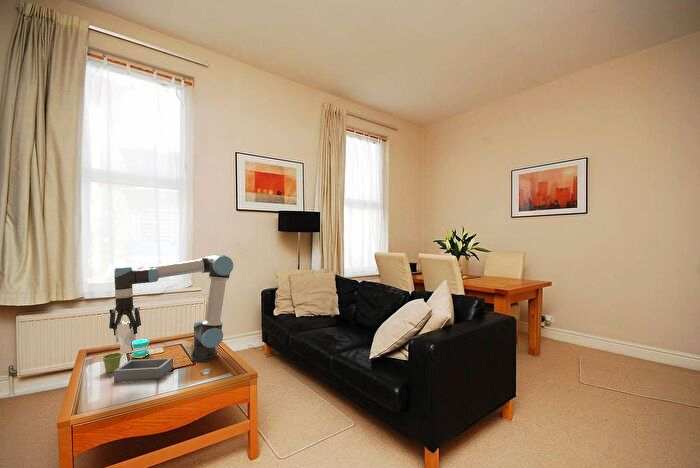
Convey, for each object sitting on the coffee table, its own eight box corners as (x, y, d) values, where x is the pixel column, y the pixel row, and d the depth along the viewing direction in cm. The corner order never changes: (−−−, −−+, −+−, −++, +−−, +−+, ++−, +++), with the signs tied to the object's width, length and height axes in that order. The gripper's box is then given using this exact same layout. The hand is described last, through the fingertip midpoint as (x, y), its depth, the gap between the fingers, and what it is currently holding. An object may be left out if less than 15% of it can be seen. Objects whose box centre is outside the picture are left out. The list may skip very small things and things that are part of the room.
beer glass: (123, 349, 174) (121, 321, 173) (137, 348, 174) (135, 320, 174) (115, 354, 167) (113, 325, 166) (130, 353, 167) (127, 323, 167)
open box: (173, 368, 190) (172, 357, 190) (160, 379, 175) (160, 368, 175) (130, 370, 188) (130, 360, 188) (113, 382, 173) (113, 370, 173)
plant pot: (126, 368, 191) (126, 353, 191) (109, 375, 182) (109, 359, 182) (114, 366, 194) (114, 352, 194) (98, 373, 185) (98, 357, 185)
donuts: (135, 344, 204) (128, 341, 210) (135, 360, 204) (128, 357, 209) (152, 340, 212) (145, 337, 218) (152, 355, 212) (145, 352, 218)
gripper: (148, 294, 175) (149, 337, 176) (108, 296, 173) (109, 340, 173) (140, 297, 168) (142, 341, 168) (98, 299, 166) (100, 344, 166)
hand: (126, 340), depth 171 cm, fingers closed on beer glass, 7 cm apart
